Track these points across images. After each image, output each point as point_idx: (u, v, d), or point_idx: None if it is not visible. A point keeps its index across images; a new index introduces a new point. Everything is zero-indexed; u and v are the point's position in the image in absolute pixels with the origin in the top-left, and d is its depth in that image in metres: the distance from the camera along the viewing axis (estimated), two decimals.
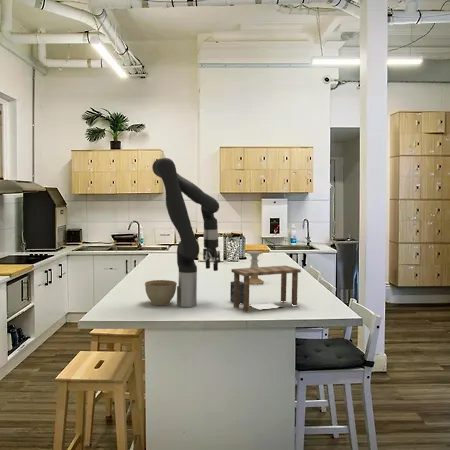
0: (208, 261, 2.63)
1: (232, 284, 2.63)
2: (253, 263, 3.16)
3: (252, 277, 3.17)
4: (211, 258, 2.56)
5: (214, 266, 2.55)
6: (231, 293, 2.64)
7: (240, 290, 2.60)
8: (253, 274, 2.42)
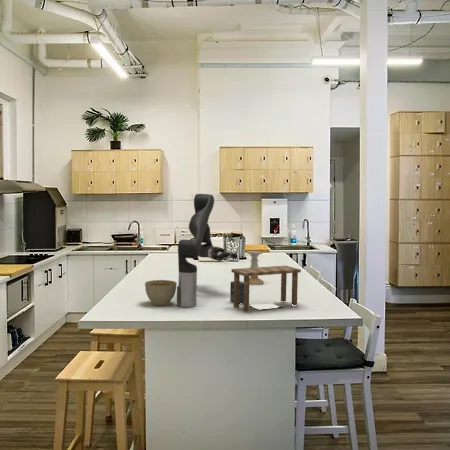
0: None
1: (232, 284, 2.63)
2: (253, 263, 3.16)
3: (252, 277, 3.17)
4: (229, 252, 2.79)
5: (235, 254, 2.76)
6: (231, 293, 2.64)
7: (240, 290, 2.60)
8: (253, 274, 2.42)
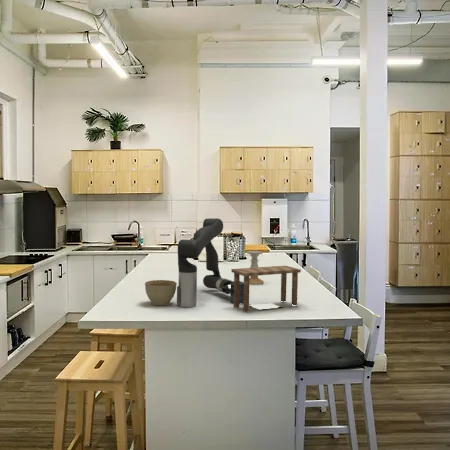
0: None
1: (232, 284, 2.63)
2: (253, 263, 3.16)
3: (252, 277, 3.17)
4: None
5: None
6: (231, 293, 2.64)
7: (240, 290, 2.60)
8: (253, 274, 2.42)
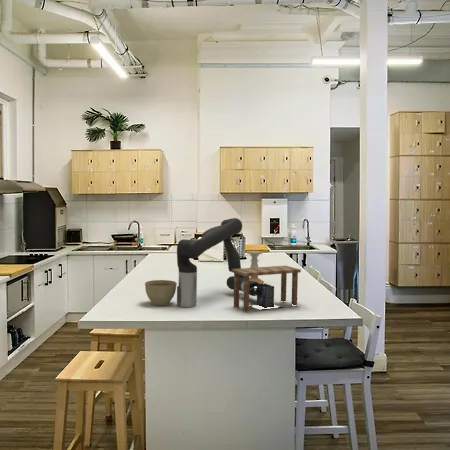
0: None
1: (259, 286, 2.54)
2: (253, 263, 3.16)
3: (252, 277, 3.17)
4: None
5: None
6: (258, 296, 2.55)
7: (267, 293, 2.51)
8: (253, 274, 2.42)
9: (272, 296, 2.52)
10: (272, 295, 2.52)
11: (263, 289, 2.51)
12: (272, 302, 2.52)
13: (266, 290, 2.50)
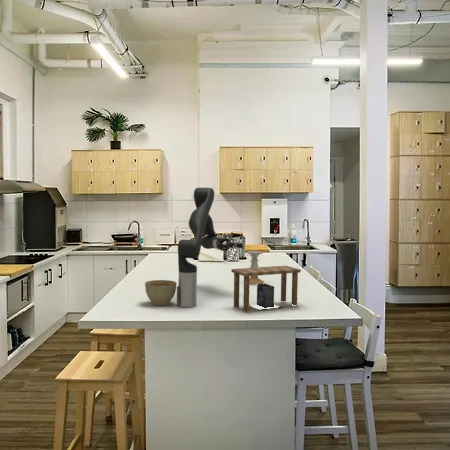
0: None
1: (259, 286, 2.54)
2: (253, 263, 3.16)
3: (252, 277, 3.17)
4: (235, 242, 2.79)
5: (240, 244, 2.76)
6: (258, 296, 2.55)
7: (267, 293, 2.51)
8: (253, 274, 2.42)
9: (272, 296, 2.52)
10: (272, 295, 2.52)
11: (263, 289, 2.51)
12: (272, 302, 2.52)
13: (266, 290, 2.50)
